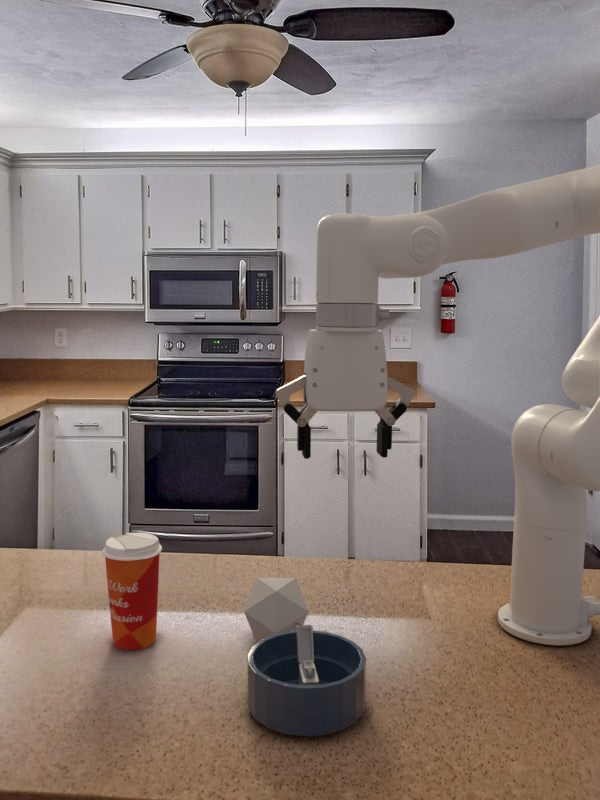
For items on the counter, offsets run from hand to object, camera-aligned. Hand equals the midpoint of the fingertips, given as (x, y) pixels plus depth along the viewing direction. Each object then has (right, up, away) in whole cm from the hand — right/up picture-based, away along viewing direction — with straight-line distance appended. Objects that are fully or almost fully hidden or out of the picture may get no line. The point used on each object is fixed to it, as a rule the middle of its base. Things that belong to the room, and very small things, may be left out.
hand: (344, 455), depth 92 cm
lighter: (-5, -27, -9) cm, 29 cm away
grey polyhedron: (-9, -26, +8) cm, 28 cm away
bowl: (-5, -28, -9) cm, 30 cm away
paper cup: (-28, -26, +7) cm, 38 cm away
